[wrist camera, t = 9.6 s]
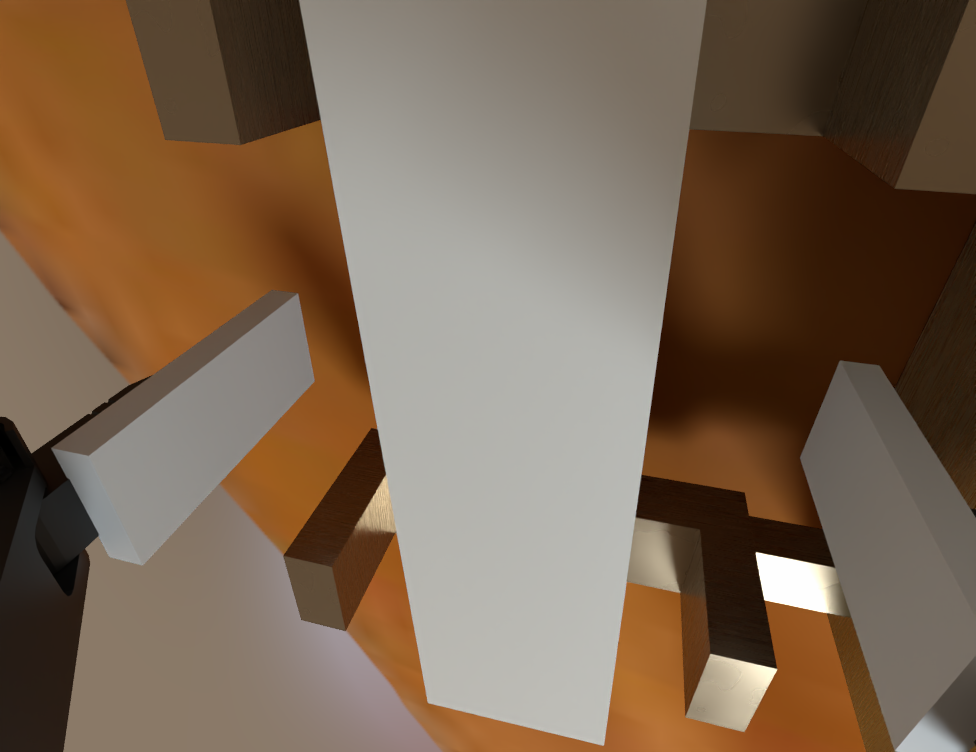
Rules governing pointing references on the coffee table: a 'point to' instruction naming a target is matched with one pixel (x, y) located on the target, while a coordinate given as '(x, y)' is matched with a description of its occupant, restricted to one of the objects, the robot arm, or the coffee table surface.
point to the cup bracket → (716, 106)
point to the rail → (510, 314)
